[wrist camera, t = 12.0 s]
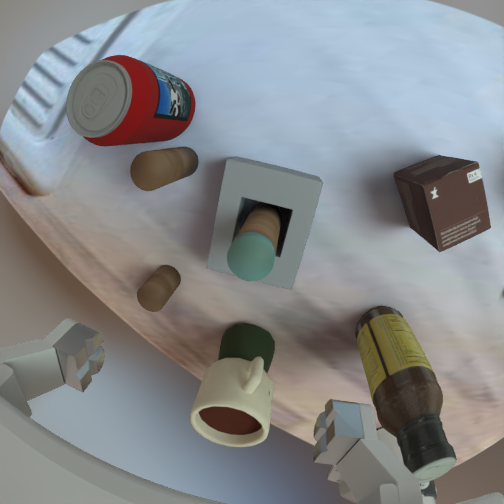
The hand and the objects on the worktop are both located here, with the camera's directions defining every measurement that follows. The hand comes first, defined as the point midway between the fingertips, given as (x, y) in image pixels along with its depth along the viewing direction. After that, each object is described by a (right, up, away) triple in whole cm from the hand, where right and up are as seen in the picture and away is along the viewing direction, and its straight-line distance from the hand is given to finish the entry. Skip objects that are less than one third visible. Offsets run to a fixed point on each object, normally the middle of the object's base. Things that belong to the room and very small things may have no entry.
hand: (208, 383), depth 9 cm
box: (+19, +11, +17) cm, 27 cm away
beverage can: (-7, +19, +17) cm, 26 cm away
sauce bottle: (+16, -4, +23) cm, 28 cm away
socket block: (+3, +8, +20) cm, 22 cm away
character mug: (+1, -6, +26) cm, 27 cm away
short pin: (-8, +1, +24) cm, 25 cm away
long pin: (+3, +8, +20) cm, 22 cm away
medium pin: (-5, +13, +19) cm, 24 cm away
